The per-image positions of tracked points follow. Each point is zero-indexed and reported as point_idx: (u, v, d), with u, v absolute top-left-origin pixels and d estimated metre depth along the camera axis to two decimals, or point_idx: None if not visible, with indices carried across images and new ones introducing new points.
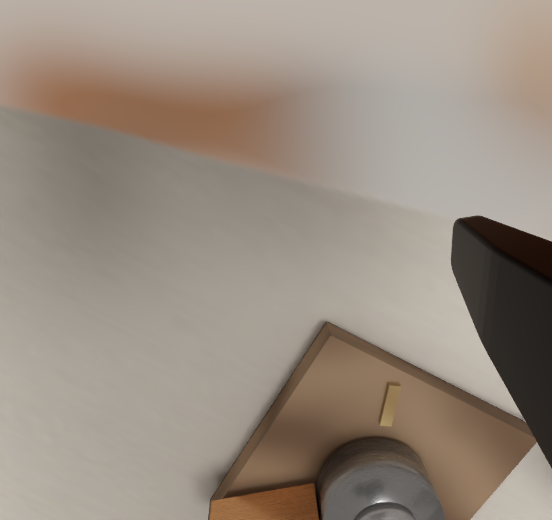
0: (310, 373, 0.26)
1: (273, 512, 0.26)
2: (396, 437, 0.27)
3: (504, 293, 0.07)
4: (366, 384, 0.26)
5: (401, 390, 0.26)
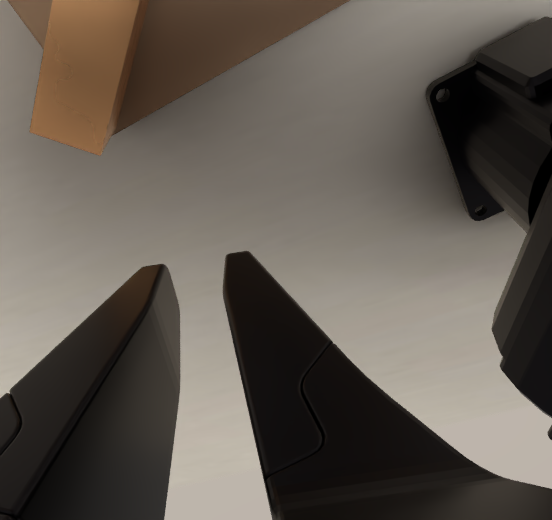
0: None
1: None
2: None
3: None
4: None
5: None
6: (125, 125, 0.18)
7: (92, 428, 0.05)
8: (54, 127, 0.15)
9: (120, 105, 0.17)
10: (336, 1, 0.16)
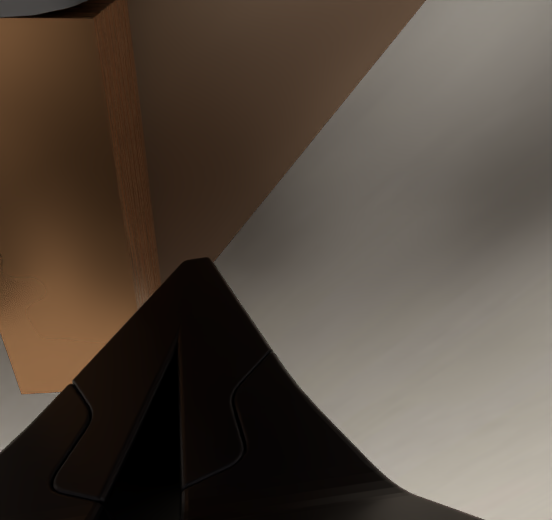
0: None
1: None
2: None
3: None
4: None
5: None
6: None
7: (159, 418, 0.05)
8: (58, 374, 0.08)
9: (155, 265, 0.10)
10: None
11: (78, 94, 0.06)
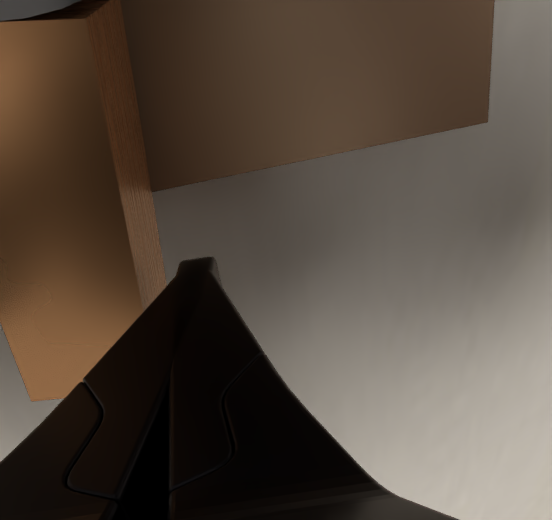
0: None
1: None
2: None
3: None
4: None
5: None
6: (486, 82, 0.10)
7: None
8: (66, 379, 0.08)
9: (160, 267, 0.10)
10: None
11: (75, 96, 0.06)
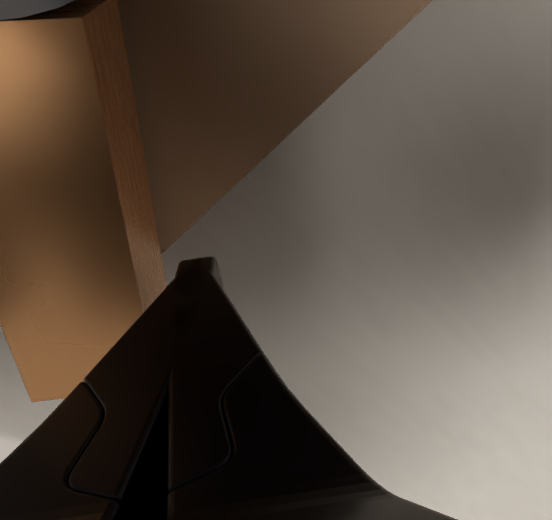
0: (160, 240, 0.10)
1: None
2: None
3: None
4: None
5: None
6: None
7: None
8: (66, 379, 0.08)
9: (159, 267, 0.10)
10: None
11: (72, 95, 0.06)
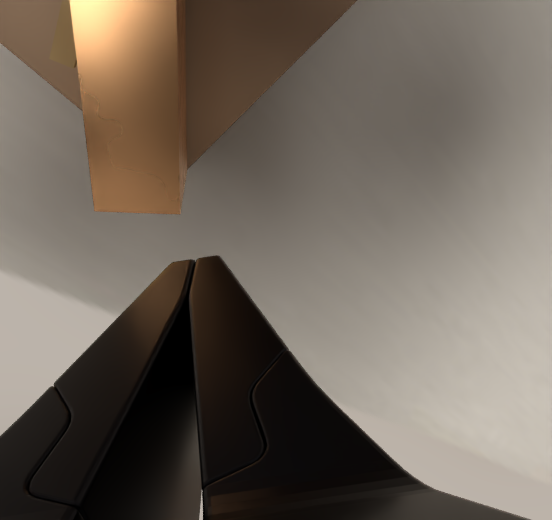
0: (219, 127, 0.15)
1: None
2: None
3: None
4: None
5: (48, 36, 0.13)
6: None
7: (139, 421, 0.05)
8: (121, 197, 0.12)
9: (185, 145, 0.14)
10: None
11: None
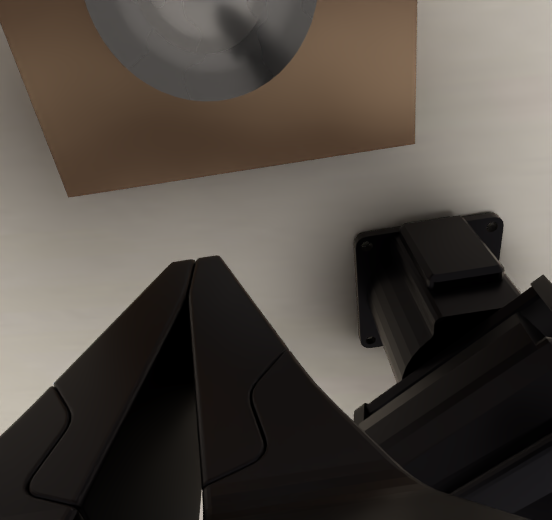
0: None
1: None
2: None
3: None
4: None
5: None
6: (88, 192, 0.19)
7: (139, 421, 0.05)
8: None
9: None
10: (304, 157, 0.19)
11: None
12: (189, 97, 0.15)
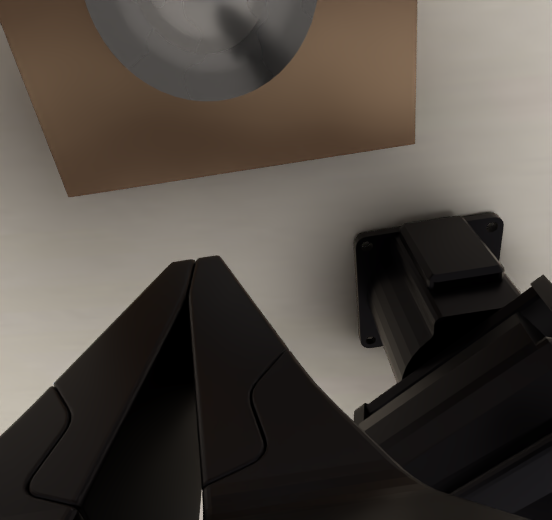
0: None
1: None
2: None
3: None
4: None
5: None
6: (88, 192, 0.19)
7: (139, 421, 0.05)
8: None
9: None
10: (304, 157, 0.19)
11: None
12: (189, 97, 0.15)
